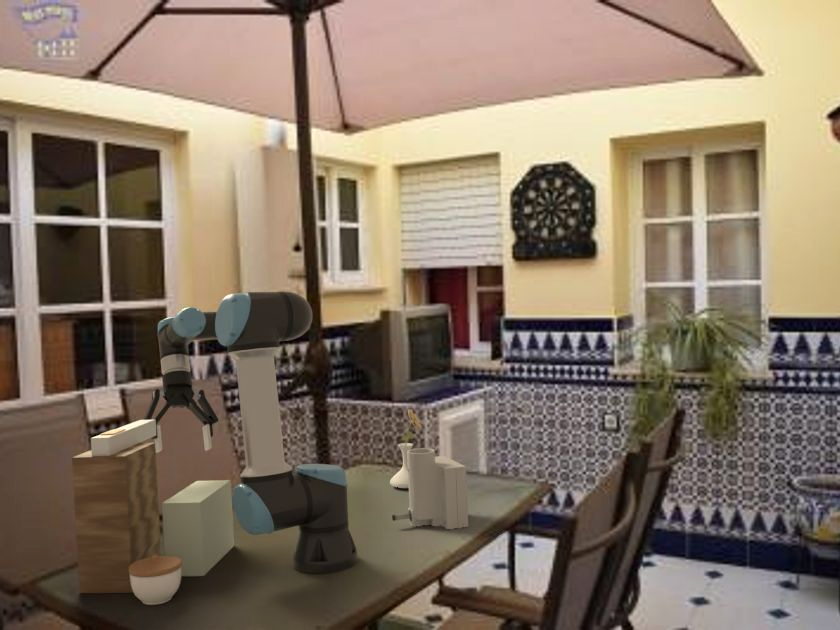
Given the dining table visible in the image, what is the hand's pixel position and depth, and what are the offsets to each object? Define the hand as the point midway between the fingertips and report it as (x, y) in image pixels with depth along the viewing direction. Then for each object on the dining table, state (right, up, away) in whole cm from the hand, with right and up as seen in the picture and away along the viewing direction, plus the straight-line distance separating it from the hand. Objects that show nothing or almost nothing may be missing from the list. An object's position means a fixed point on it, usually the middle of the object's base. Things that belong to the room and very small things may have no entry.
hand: (184, 450), depth 214 cm
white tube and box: (+64, -21, +8) cm, 67 cm away
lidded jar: (+6, -25, -40) cm, 48 cm away
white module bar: (-7, +5, -23) cm, 24 cm away
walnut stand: (-6, -25, -27) cm, 38 cm away
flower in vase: (+58, -20, +51) cm, 80 cm away
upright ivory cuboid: (+9, -24, -16) cm, 30 cm away
